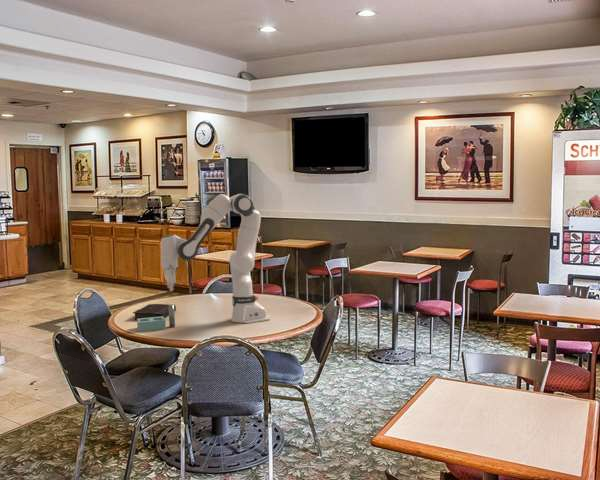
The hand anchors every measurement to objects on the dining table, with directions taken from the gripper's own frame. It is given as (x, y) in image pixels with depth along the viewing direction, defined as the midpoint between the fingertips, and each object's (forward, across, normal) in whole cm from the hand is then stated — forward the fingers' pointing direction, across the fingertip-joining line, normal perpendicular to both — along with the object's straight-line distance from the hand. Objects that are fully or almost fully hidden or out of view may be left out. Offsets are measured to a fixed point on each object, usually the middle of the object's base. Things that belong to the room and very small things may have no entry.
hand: (170, 289), depth 313 cm
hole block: (+21, +1, +11) cm, 24 cm away
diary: (+22, +33, +6) cm, 40 cm away
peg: (+21, 0, 0) cm, 21 cm away
